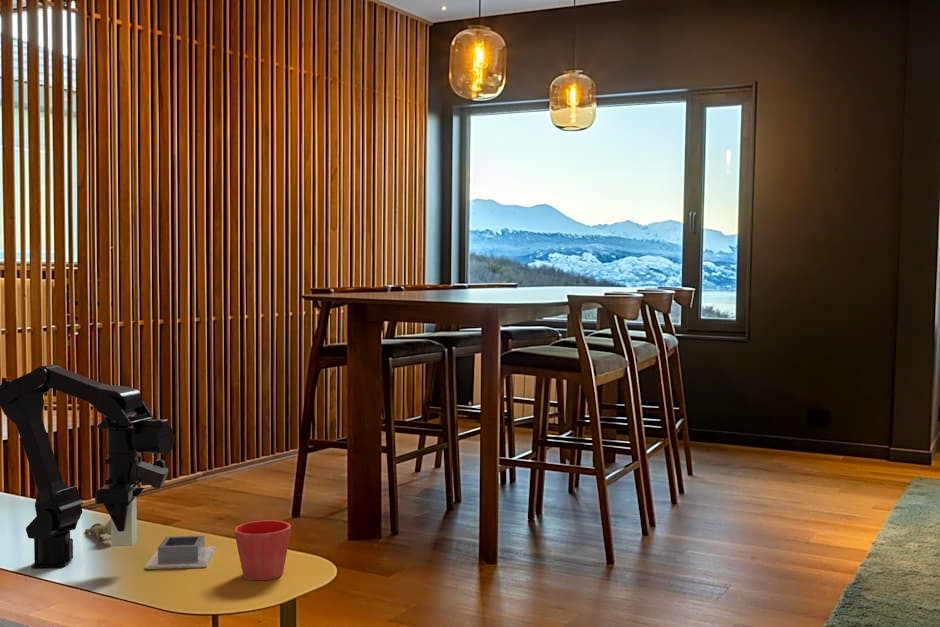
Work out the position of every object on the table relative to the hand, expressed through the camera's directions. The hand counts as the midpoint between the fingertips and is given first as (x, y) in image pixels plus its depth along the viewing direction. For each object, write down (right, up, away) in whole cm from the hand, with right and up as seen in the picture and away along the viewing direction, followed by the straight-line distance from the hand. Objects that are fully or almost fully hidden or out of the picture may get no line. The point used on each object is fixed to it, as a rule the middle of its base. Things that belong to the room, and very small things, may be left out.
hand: (124, 528), depth 187 cm
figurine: (-14, -8, +24) cm, 29 cm away
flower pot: (+28, -9, -1) cm, 30 cm away
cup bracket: (+9, -9, +9) cm, 15 cm away
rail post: (0, -3, 0) cm, 3 cm away
